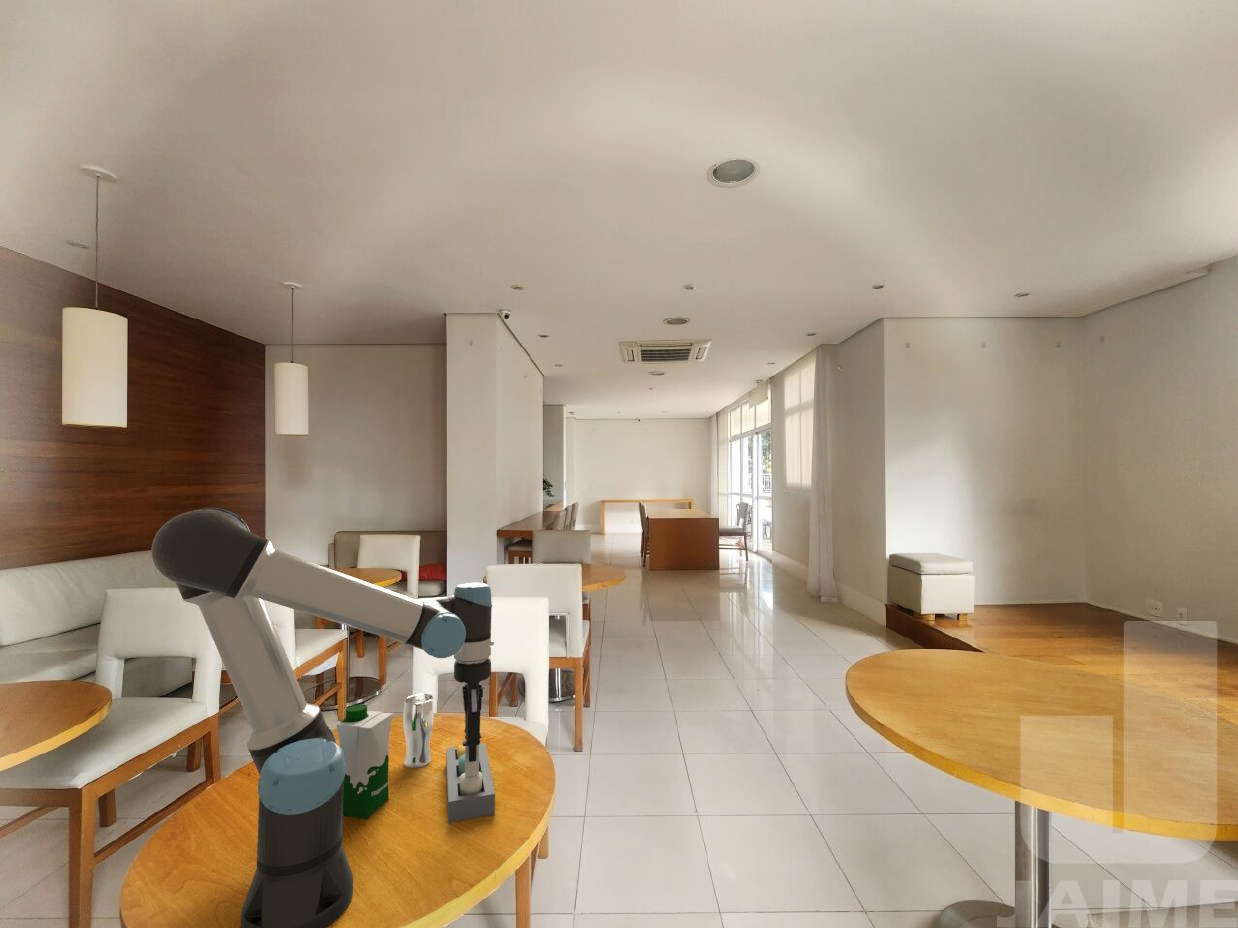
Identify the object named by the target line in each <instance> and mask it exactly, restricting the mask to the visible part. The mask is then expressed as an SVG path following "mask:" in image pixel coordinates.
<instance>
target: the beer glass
mask: <svg viewBox="0 0 1238 928" xmlns="http://www.w3.org/2000/svg"><path fill="white" fill-rule="evenodd" d="M403 703H404V705H403V713H402V716H403V717H402V721H403V722H402V725H403V733H404V739H405V744H406V747H405V750H406V751H405V758H404V761H403V763H404V766H405V767H406V768H409V769H417V768H422V767H425V766H426V765H428V764H430V763H431V761H432V755H431V749H430V744H431V743H430V742H431V738H432V737H431V736H432V733H433V732H432V731H433V726H434V718H435V717H434V716H435V714H434V713H435V712H434V710H435V709H434V696H433V695H432V694H430V693H429V694H428V693H417V694H412V695H409V696H407V697H406V698H405V699H404V702H403Z"/></svg>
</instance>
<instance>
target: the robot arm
mask: <svg viewBox="0 0 1238 928" xmlns="http://www.w3.org/2000/svg"><path fill="white" fill-rule="evenodd" d="M150 552H151V559H152V561H153V564H154V566H155V568H156V569H157V570H158V572H159V573H160V574H161V575H162V576H164V577H165V578H167V579H168V580H170V581H171V582H174V583H175V584H176V587H177V589H178V591H179V593H180V595H181V597H182V600H183V602H186V603H189V604H192V605H196V606H198V608H199V610H200V612H201V614H202V617H203V619H204V622H205V623H206V624H205V625H206V627H207V629H208V630H209V633H210V636H211V638H212V641H213V642H214V644H215V647H216V649H217V651H218V654H219V656H220V658H221V662H222V663H223V665H224V667H225V670H226V672H227V675H228V677H229V679H230V682H231V684H232V686H233V688H234V690H235V694H236V696H237V698H238V699H239V702H240V704H241V708H242V710H243V712H244V714H245V716H246V719H247V720H248V724H249V725H250V728H251V730H252V733H251V735H250V737H249V739H248V741H247V744H246V746H247V748H248V749H247V750H248V753H250V756H251V758H252V760H253V764H254V766H255V768H256V770H257V773H258V775H259V779H258V782H257V794H258V818H257V819H258V820H257V847H256V848H257V850H256V868H255V873H254V875H253V878H252V881H251V882H250V885H249V888H248V892H247V894H246V896H245V900H244V903H243V905H242V909H241V912H240V928H327V927H329V926H331V925H332V924H333V923H335V921H337V920H338V919H339V918H340V917H341V916H342V915H343V914H344V913H345V912H346V911H347V908H348V907H349V906H350V903H351V902H352V899H353V894H354V875H353V872H352V869H351V866H350V864H349V863H350V862H349V860H348V858H347V855H346V852H345V849H344V846H343V829H344V816H343V794H344V776H345V772H346V765H345V760H344V753H343V751H342V749H341V747H340V744H338V743H337V741H336V740H337V739H336V737H335V735H334V732H333V731H332V729H331V728H330V727H329V726H328V724H327V723H326V722H327V721H326V720H325V718H324V714H323V713H322V711H321V708H320V706H319V705H317V704H313V703H308V702H307V701H306V698H305V695H304V694H303V691H302V688H301V686H300V684H299V682H298V679H297V676H296V674H295V672H294V670H293V667H292V664H291V663H290V660H289V657H288V655H287V653H286V649H285V648H284V645H283V643H282V641H281V638H280V635H279V633H278V631H277V629H276V626H275V623H274V622H273V619H272V616H271V614H270V611H269V609H268V607H267V604H266V602H269V603H272V604H275V605H279V606H283V607H285V608H289V609H292V610H296V611H298V612H301V613H304V614H308V615H312V616H314V617H319V618H320V619H323V620H326V621H331V622H334V623H338V624H340V625H344V626H347V627H350V628H353V629H357V630H360V631H364V632H366V633H370V634H372V635H376V636H379V637H382V638H386V639H388V640H392V641H395V642H398V643H402V644H405V645H407V646H409V647H412V648H417V649H419V650H422V651H423V652H424V653H426V654H427V655H428V656H431V657H433V658H437V659H447V658H451V657H452V656H453V659H454V660H455V661H454V662H453V678H454V680H455V681H456V682H458V683H463V684H464V683H465V684H464V685H462V686H461V687H462V690H461V692H462V697H463V698H462V699H463V709H464V721H465V722H464V733H465V735H464V739H465V741H462V744H463V746H465V777H470V776H477V775H479V744H481V739H482V733H481V711H482V706H483V705H482V698H483V697H484V688H483V685H482V683H480V682H483V681H485V680H487V679H490V677H491V675H492V659H491V655H492V647H491V646H494V644H495V642H494V640H492V638H491V637H492V607H493V604H492V589H491V587H490V585H488V584H486V583H483V582H467V583H462V584H457V585H456V586H455V588H454V592H453V595H452V594H451V595H448V596H441V597H431V598H430V597H429V598H418V599H414V598H412V597H409V596H407V595H404V594H401V593H398V592H395V591H392V590H390V589H386V588H384V587H381V586H378V585H377V584H372V583H370V582H367V581H364V580H362V579H359V578H356V577H353V576H350V575H347V574H345V573H342V572H339V571H337V570H333V569H330V568H329V567H325V566H323V565H319V564H317V563H314V562H311V561H308V560H305V559H303V558H300V557H297V556H294V555H291V554H288V553H286V552H284V551H280V550H278V549H275V548H274V545H273V543H272V542H271V540H269V539H268V538H264V537H261V536H259V535H258V534H257V535H256V534H254V533H252V532H251V531H250V529H249V526H248V525H247V523H246V522H245V521H244V520H243V519H242V518H241V517H240V516H238V515H237V514H236V513H233V512H232V511H230V510H227V509H223V508H218V507H216V508H215V507H204V508H199V509H194V510H190V511H187V512H182V513H180V514H178V515H175V516H174V517H172V518H170V519H169V520H168V521H167V522H165V523H164V524H163V525H162V526H161V527H160V528H159V530H158V531H157V532H156V533H155V536H154V538H153V540H152V544H151V549H150ZM265 601H266V602H265Z"/></svg>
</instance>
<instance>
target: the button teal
mask: <svg viewBox="0 0 1238 928" xmlns="http://www.w3.org/2000/svg"><path fill="white" fill-rule="evenodd" d="M463 773H465V754H463V755H461V756H460V757H459V763H458V775H459V776H461V775H462V774H463Z"/></svg>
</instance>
